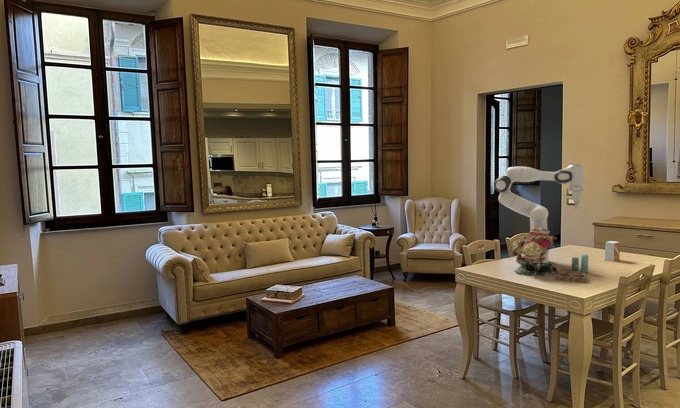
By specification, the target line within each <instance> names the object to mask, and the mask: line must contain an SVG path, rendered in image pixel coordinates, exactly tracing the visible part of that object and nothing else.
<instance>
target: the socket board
mask: <svg viewBox="0 0 680 408" xmlns="http://www.w3.org/2000/svg"><path fill="white" fill-rule="evenodd" d="M556 280H557V281H565V282H573V283H574V282H575V283H586V284H587V283H588V274H584V273H583V274H571V273H560V272H559V271H558V272H557V274H556Z"/></svg>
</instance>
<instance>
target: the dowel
mask: <svg viewBox="0 0 680 408" xmlns="http://www.w3.org/2000/svg"><path fill="white" fill-rule="evenodd" d="M580 259H581V260H580V261H581V262H580V270H581V273H583V274H588V273H589V255H588V254H581V256H580Z"/></svg>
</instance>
